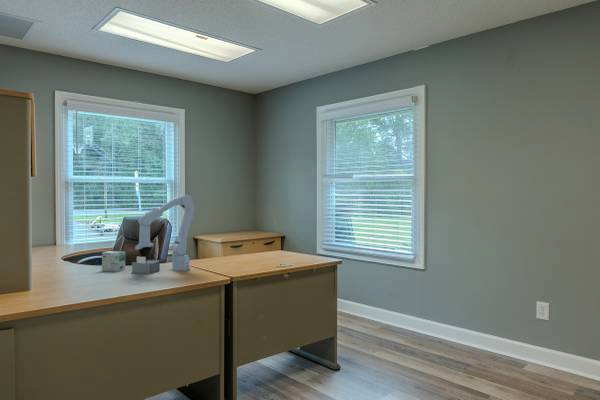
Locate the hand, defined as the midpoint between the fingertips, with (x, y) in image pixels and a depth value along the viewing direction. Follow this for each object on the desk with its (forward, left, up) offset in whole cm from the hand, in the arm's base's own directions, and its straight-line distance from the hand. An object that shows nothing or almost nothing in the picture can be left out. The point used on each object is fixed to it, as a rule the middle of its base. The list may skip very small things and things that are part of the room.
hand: (144, 260), depth 236 cm
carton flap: (0, +3, -6) cm, 7 cm away
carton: (0, -2, -7) cm, 7 cm away
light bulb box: (+20, -1, -7) cm, 21 cm away
